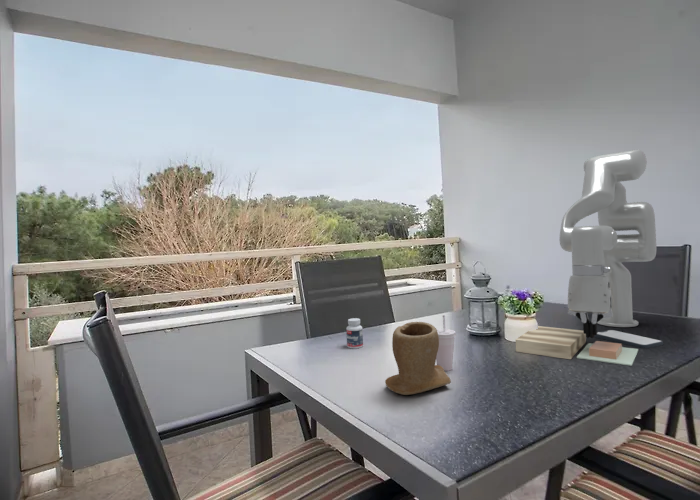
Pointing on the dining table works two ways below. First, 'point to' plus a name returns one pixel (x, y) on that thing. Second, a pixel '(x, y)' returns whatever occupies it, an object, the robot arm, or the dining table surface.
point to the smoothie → (445, 347)
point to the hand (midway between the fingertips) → (590, 336)
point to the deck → (551, 342)
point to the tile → (605, 350)
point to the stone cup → (416, 359)
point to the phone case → (628, 339)
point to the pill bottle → (354, 334)
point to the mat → (624, 358)
